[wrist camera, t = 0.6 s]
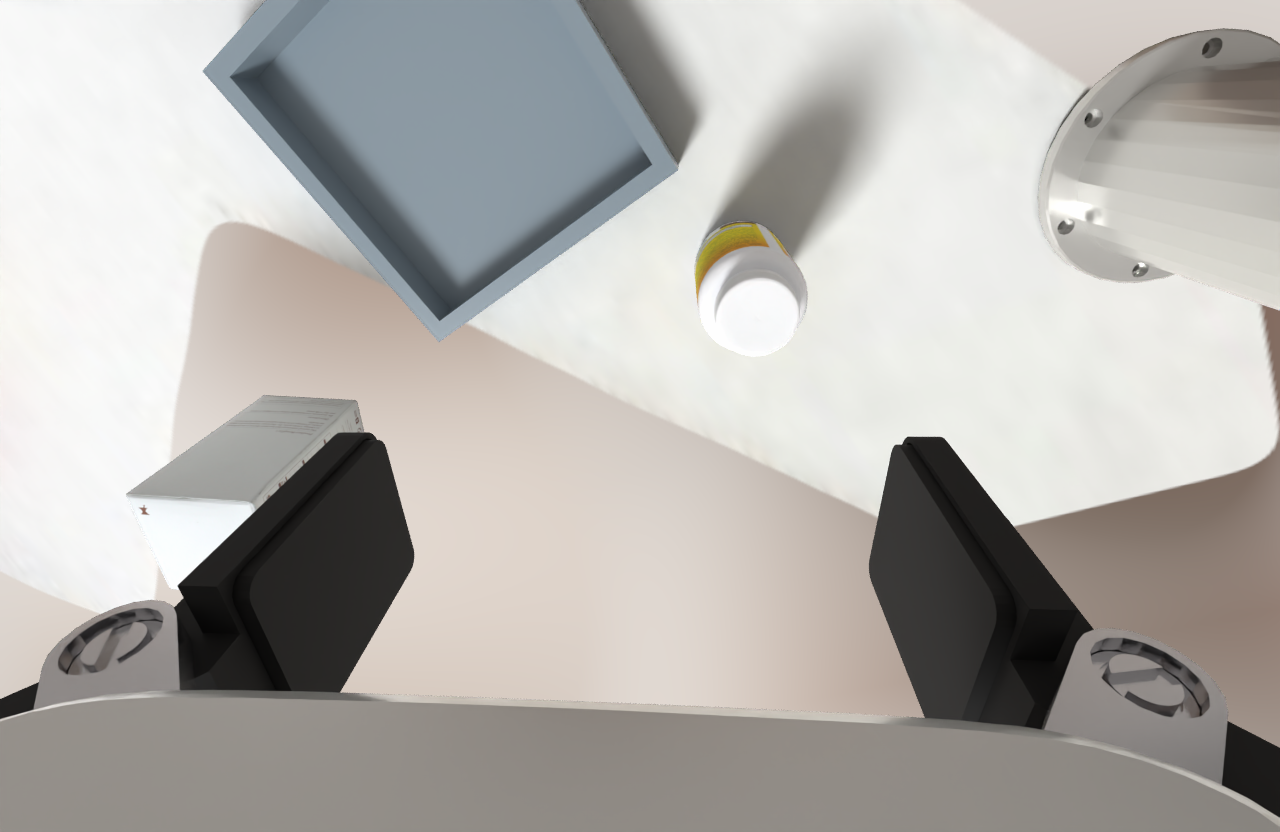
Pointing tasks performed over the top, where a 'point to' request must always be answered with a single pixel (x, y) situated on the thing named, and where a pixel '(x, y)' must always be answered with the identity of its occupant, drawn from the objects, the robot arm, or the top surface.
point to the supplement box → (232, 476)
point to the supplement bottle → (748, 289)
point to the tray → (446, 134)
